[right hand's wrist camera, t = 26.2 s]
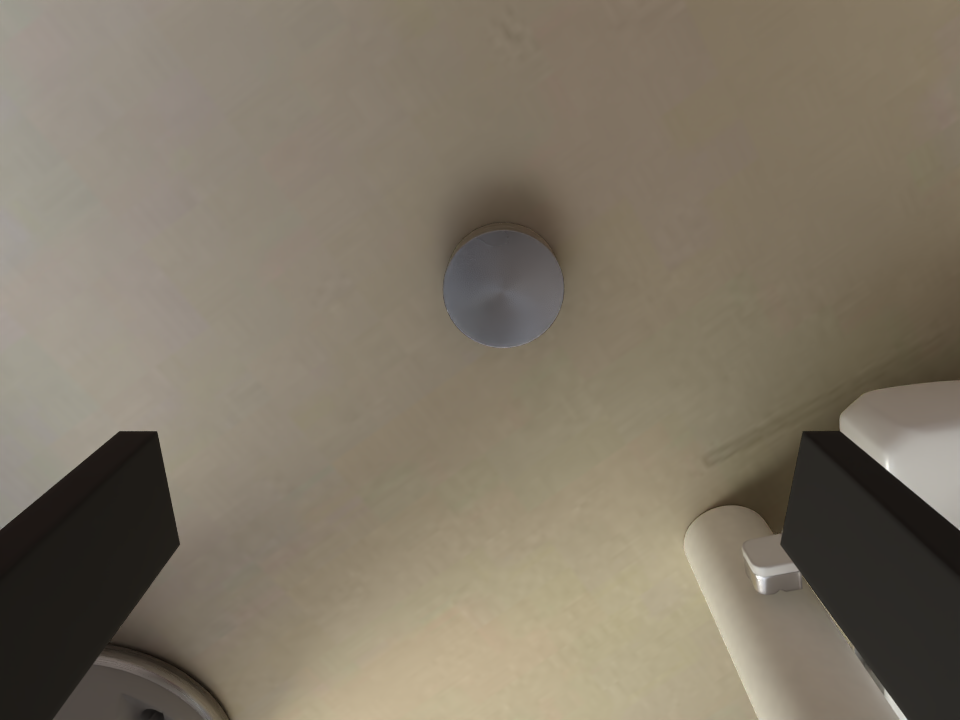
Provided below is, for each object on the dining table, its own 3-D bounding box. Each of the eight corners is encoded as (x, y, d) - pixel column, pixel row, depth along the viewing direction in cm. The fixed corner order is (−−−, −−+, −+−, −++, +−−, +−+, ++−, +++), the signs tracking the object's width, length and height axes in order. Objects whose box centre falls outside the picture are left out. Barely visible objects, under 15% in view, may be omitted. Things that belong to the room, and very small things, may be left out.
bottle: (752, 491, 32) (971, 804, 17) (780, 555, 33) (1005, 895, 19) (670, 525, 33) (812, 851, 18) (701, 586, 34) (856, 934, 19)
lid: (433, 315, 29) (429, 330, 27) (463, 207, 27) (461, 214, 25) (539, 345, 29) (542, 361, 27) (575, 241, 27) (581, 250, 25)
